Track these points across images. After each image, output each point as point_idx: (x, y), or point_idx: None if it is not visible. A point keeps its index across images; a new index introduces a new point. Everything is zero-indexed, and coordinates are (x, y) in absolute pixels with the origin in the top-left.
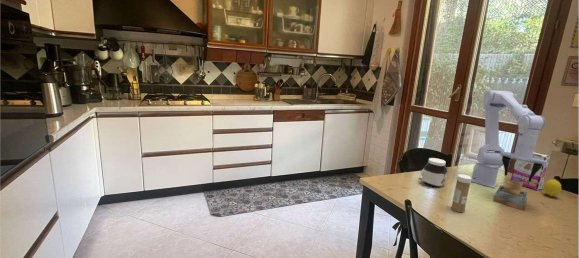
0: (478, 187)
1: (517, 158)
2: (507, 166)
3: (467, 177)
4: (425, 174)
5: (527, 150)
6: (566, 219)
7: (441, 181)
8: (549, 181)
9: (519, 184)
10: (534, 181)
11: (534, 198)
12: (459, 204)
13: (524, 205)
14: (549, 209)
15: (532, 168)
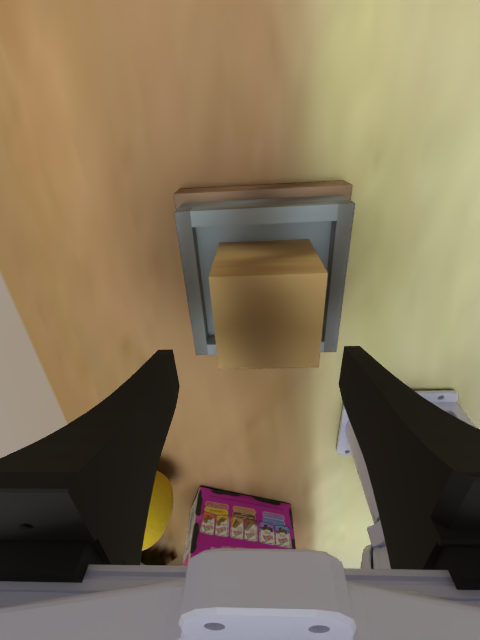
0: (418, 342)
1: (352, 582)
2: (397, 408)
3: None
4: None
5: None
6: (20, 260)
7: None
8: (148, 531)
9: (229, 307)
10: (211, 524)
11: (186, 406)
12: None
13: (176, 193)
14: (108, 327)
15: (99, 445)
